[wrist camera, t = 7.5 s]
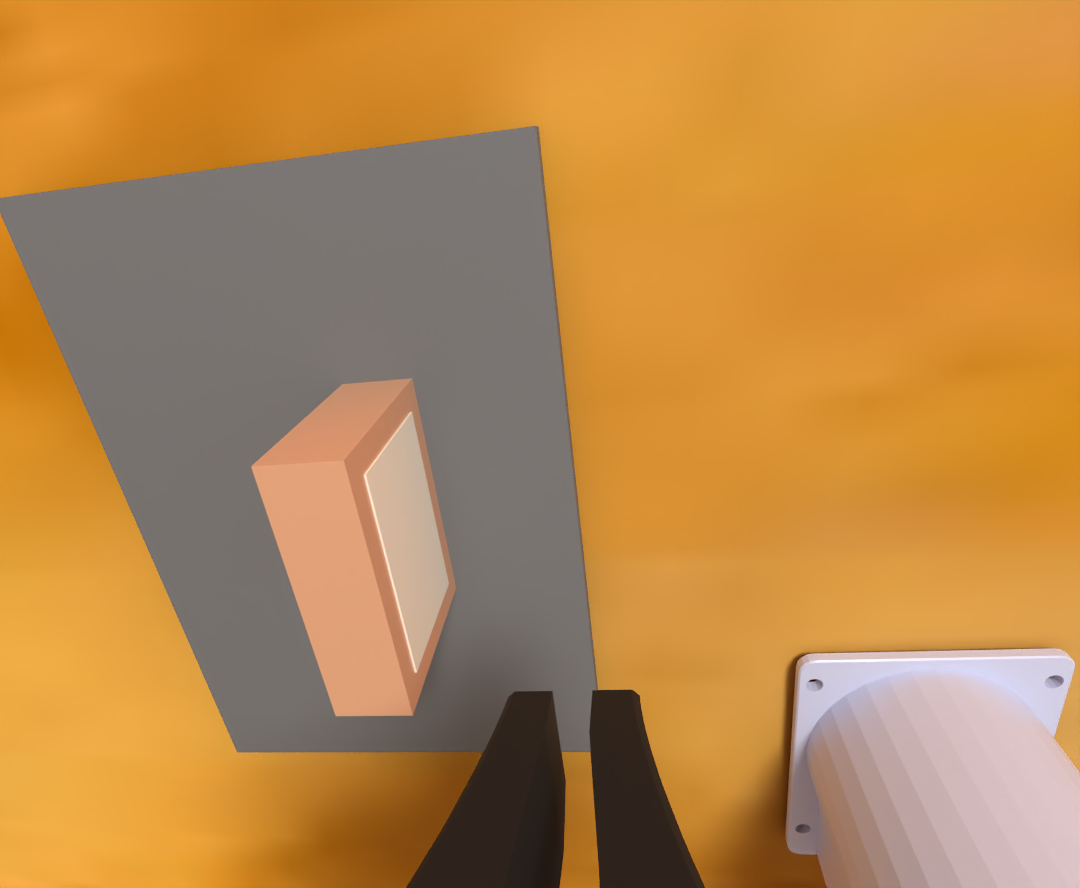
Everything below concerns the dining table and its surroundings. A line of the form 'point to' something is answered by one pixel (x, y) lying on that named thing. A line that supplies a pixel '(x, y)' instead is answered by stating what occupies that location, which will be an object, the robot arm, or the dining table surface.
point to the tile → (362, 543)
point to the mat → (312, 376)
